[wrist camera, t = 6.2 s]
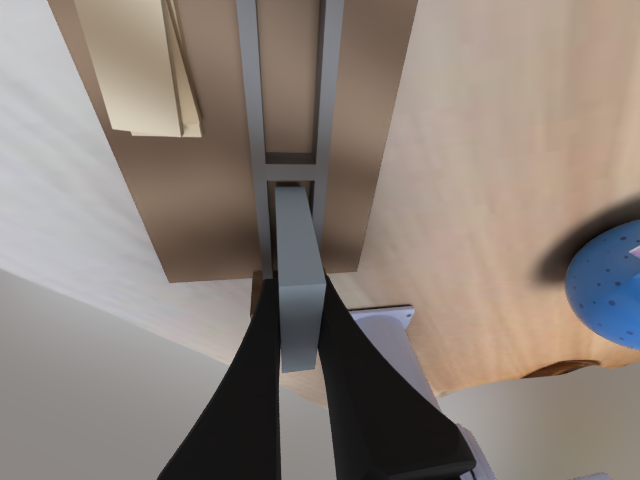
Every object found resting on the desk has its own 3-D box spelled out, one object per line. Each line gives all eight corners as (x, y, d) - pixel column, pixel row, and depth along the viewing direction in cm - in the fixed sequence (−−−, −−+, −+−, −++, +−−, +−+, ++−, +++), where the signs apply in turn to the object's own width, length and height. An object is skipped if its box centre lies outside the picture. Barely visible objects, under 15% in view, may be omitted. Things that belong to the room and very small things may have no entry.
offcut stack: (207, 134, 12) (201, 144, 11) (133, 131, 11) (118, 143, 10) (172, -49, 8) (157, -62, 7) (62, -63, 8) (26, -80, 7)
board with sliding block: (353, 262, 20) (370, 310, 17) (173, 272, 18) (150, 329, 14) (422, -73, 9) (511, -134, 6) (6, -145, 7) (-227, -301, 4)
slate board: (301, 269, 17) (314, 369, 12) (278, 270, 17) (282, 373, 12) (304, 186, 13) (326, 283, 8) (275, 187, 13) (279, 286, 8)
